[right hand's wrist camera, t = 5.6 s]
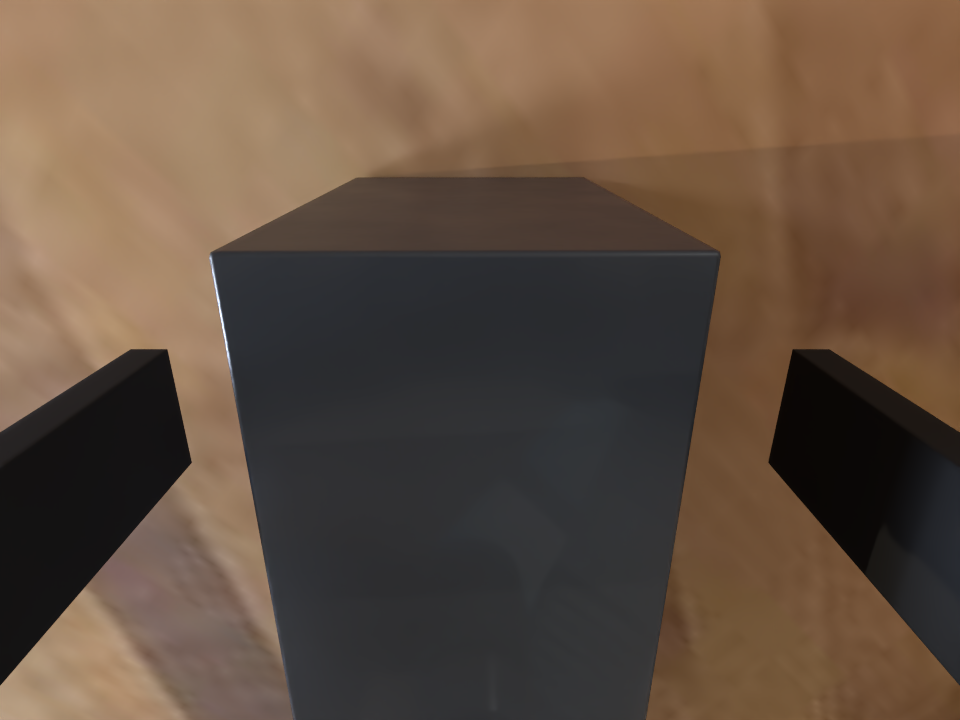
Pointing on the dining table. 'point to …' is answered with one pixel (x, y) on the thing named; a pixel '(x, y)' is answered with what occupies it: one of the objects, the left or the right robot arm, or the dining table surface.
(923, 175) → the dining table surface
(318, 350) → the slate beam
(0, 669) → the right robot arm
